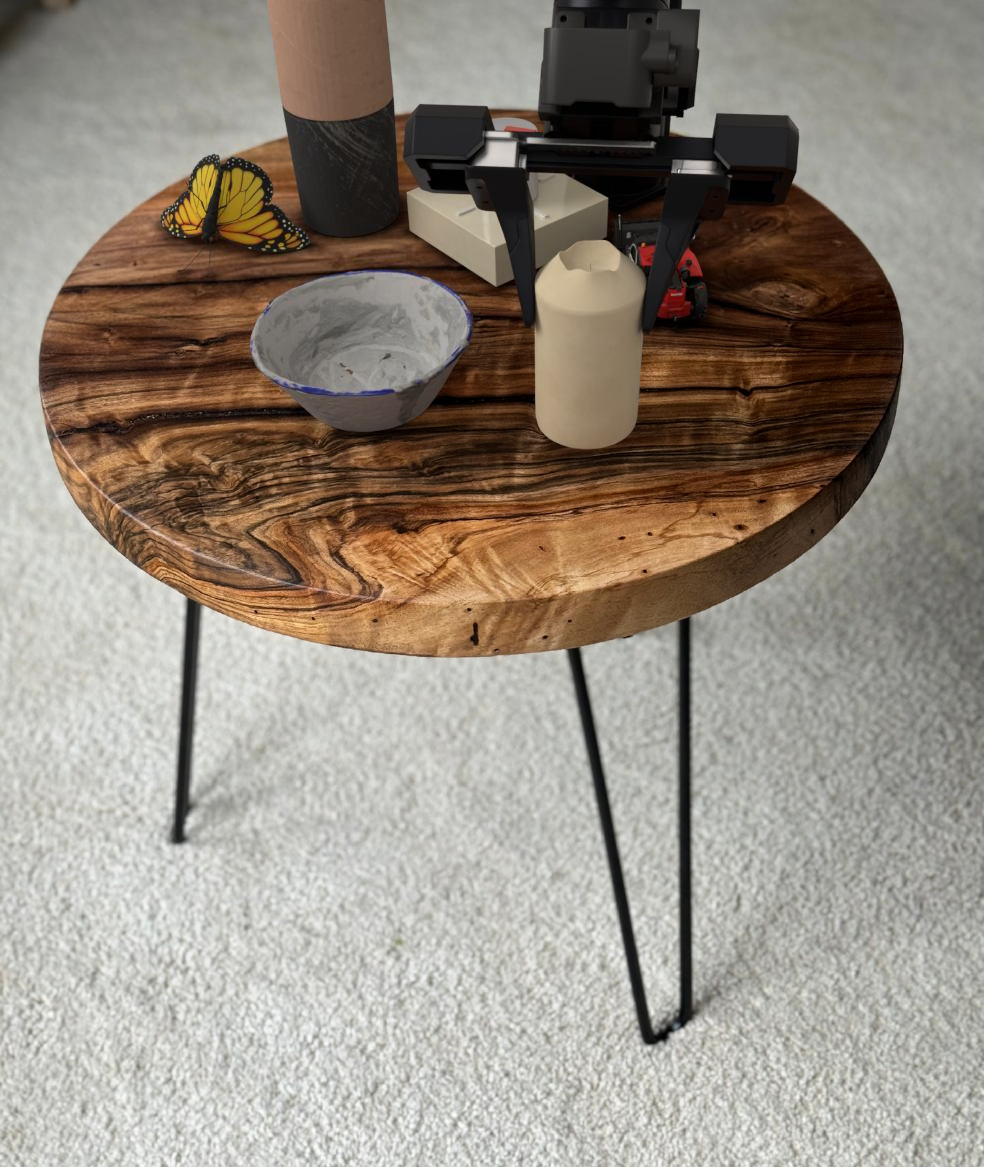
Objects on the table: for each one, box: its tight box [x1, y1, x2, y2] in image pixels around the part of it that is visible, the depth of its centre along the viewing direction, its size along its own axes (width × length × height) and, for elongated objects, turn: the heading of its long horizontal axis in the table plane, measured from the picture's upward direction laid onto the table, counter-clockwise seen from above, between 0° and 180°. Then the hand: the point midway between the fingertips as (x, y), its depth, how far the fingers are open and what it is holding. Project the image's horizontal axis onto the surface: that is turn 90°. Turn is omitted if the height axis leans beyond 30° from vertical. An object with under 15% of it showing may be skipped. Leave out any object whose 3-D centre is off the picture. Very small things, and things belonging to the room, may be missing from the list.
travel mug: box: [266, 0, 400, 238], centre depth 83 cm, size 8×8×20 cm
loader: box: [611, 214, 708, 322], centre depth 80 cm, size 12×5×5 cm, turn 5°
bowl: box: [249, 269, 475, 433], centre depth 73 cm, size 13×13×5 cm
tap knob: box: [492, 116, 539, 201], centre depth 84 cm, size 4×4×5 cm
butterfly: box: [159, 153, 311, 278], centre depth 86 cm, size 12×9×5 cm
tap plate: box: [406, 173, 609, 288], centre depth 86 cm, size 10×10×3 cm
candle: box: [534, 239, 647, 450], centre depth 63 cm, size 6×6×10 cm
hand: (586, 330), depth 61 cm, fingers closed on candle, 5 cm apart
